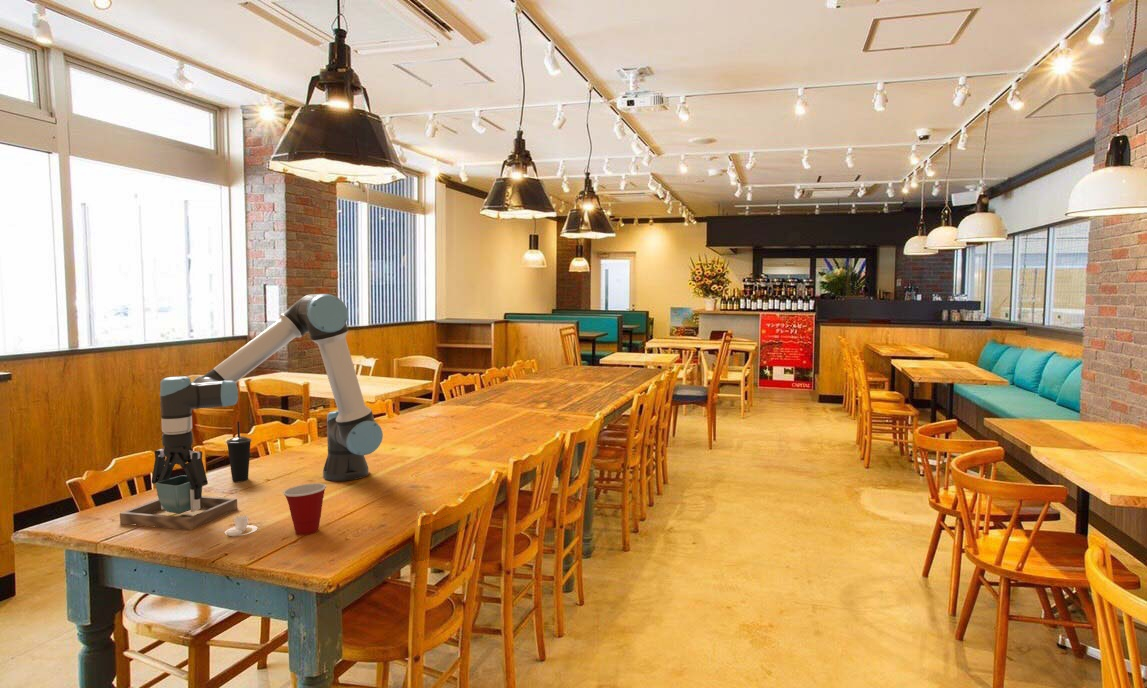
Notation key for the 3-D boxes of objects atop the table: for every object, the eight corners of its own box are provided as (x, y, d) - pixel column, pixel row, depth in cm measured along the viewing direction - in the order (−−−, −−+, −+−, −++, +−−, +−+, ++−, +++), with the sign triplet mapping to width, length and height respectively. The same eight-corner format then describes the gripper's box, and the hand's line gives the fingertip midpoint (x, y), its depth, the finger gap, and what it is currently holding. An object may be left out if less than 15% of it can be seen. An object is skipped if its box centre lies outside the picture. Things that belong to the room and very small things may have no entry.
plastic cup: (296, 523, 187) (295, 481, 186) (334, 524, 186) (333, 482, 185) (276, 537, 176) (274, 492, 175) (315, 539, 175) (314, 494, 174)
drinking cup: (242, 483, 225) (240, 424, 224) (222, 482, 227) (220, 423, 225) (257, 477, 233) (255, 420, 231) (238, 476, 234) (236, 419, 233)
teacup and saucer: (232, 540, 175) (232, 525, 175) (215, 534, 179) (215, 519, 179) (263, 530, 183) (263, 515, 182) (246, 525, 187) (246, 510, 186)
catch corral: (237, 508, 199) (237, 498, 199) (189, 530, 182) (189, 519, 181) (172, 503, 204) (172, 493, 204) (120, 523, 186) (119, 513, 186)
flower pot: (155, 513, 190) (153, 482, 190) (183, 504, 198) (182, 474, 198) (177, 517, 187) (176, 486, 186) (205, 508, 195) (204, 477, 194)
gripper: (220, 430, 192) (223, 507, 194) (155, 427, 197) (158, 502, 199) (200, 436, 185) (204, 516, 187) (133, 432, 190) (137, 510, 191)
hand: (180, 509), depth 193 cm, fingers closed on flower pot, 9 cm apart
